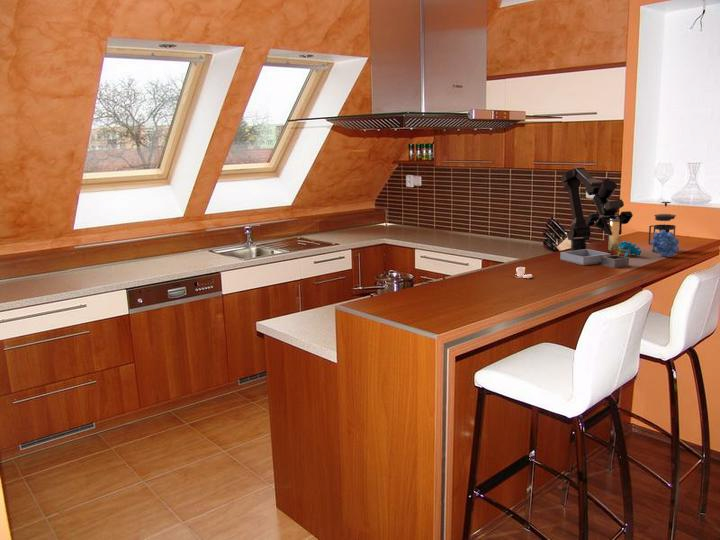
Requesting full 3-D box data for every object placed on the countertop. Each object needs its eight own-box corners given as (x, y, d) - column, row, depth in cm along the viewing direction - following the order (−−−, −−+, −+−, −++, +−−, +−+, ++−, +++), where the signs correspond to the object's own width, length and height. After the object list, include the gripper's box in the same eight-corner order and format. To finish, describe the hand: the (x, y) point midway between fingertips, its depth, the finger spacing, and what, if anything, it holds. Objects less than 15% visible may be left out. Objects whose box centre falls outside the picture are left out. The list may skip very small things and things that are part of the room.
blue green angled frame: (646, 253, 270) (633, 239, 266) (640, 264, 268) (627, 249, 265) (627, 253, 280) (614, 239, 276) (620, 263, 278) (608, 249, 275)
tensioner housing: (601, 264, 258) (601, 256, 257) (615, 262, 261) (615, 255, 260) (614, 267, 251) (614, 259, 250) (628, 265, 254) (629, 257, 253)
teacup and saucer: (535, 279, 239) (535, 269, 238) (515, 280, 238) (515, 270, 237) (527, 275, 247) (527, 265, 246) (508, 276, 247) (508, 266, 246)
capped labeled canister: (606, 249, 257) (607, 218, 254) (613, 248, 258) (614, 217, 255) (613, 250, 253) (614, 219, 250) (620, 249, 254) (622, 218, 252)
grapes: (647, 257, 270) (648, 230, 267) (652, 254, 274) (653, 228, 272) (675, 259, 262) (677, 232, 259) (680, 257, 267) (682, 230, 264)
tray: (560, 259, 272) (560, 252, 272) (586, 256, 277) (587, 248, 277) (583, 265, 259) (583, 257, 258) (610, 261, 264) (611, 253, 263)
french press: (678, 250, 281) (681, 201, 276) (672, 254, 274) (675, 203, 270) (651, 248, 289) (654, 200, 284) (645, 251, 282) (647, 202, 277)
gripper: (589, 194, 253) (602, 224, 245) (631, 192, 255) (645, 221, 247) (580, 211, 263) (591, 240, 254) (620, 208, 265) (633, 237, 256)
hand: (615, 234), depth 253 cm, fingers closed on capped labeled canister, 4 cm apart
